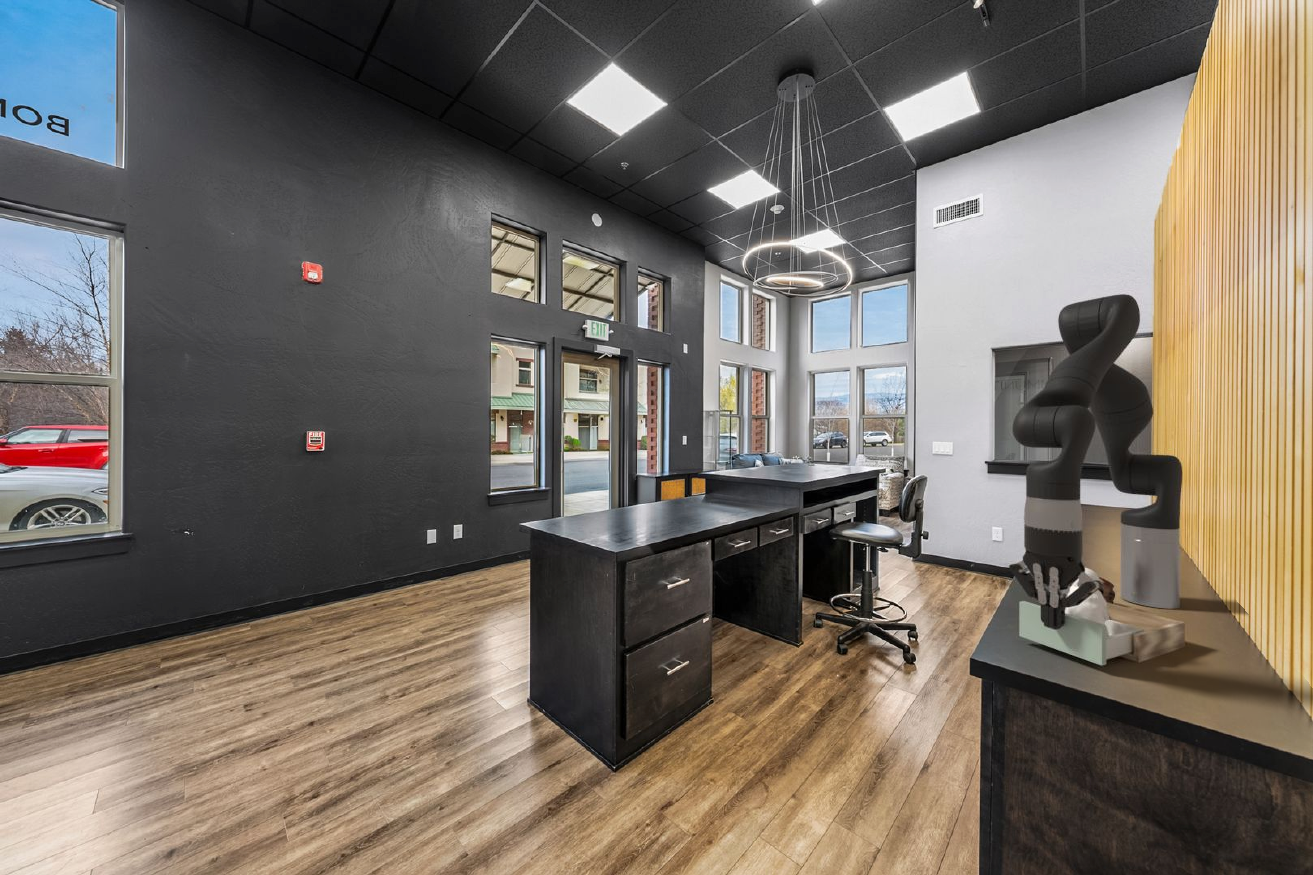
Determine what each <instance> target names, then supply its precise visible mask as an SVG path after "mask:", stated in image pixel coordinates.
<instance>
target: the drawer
mask: <svg viewBox="0 0 1313 875" xmlns="http://www.w3.org/2000/svg"><path fill="white" fill-rule="evenodd" d="M1018 609H1019V611H1018V612H1019V614H1018V617H1019V623H1018V625H1019V626H1018V627H1019V628H1018V629H1019V634H1018V635H1019V637H1021V638H1024V639H1027V640H1029V641H1032V642H1035V643H1037V644H1041V645H1044V646H1046V647H1049V648H1052V649H1055V650H1057V651H1059V652H1063V653H1066V654H1068V655H1070V656H1071V655H1072V656H1074V657H1077V658H1080V659H1082V660H1086V661H1088V662H1090V663H1093V664H1096V665H1099V666H1105V665H1107V660H1109V659H1113V658H1116V657H1120V655H1123V654H1127V653H1130V652H1133V651H1134V634H1136V633H1140V632H1143V631H1144V629H1141V628H1137V627H1134V626H1130V625H1127V624H1123V623H1120V622H1116V621H1113V620H1106V621H1105V625H1104V624H1100V623H1097V622H1094V621H1090V620H1087V619H1083V618H1080V617H1077V616H1073V615H1070V614H1066V613H1065V624H1064V626H1062V627H1061V628H1060V629H1056V630H1054V629H1051V628H1048V627H1045V626H1044V622H1042V621H1041V605H1040V604H1039V605H1038V604H1035V603H1032V602H1028V601H1025V600H1022V601H1019V606H1018ZM1106 626H1107V629H1108V632H1109V636H1108V637H1106Z"/></svg>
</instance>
